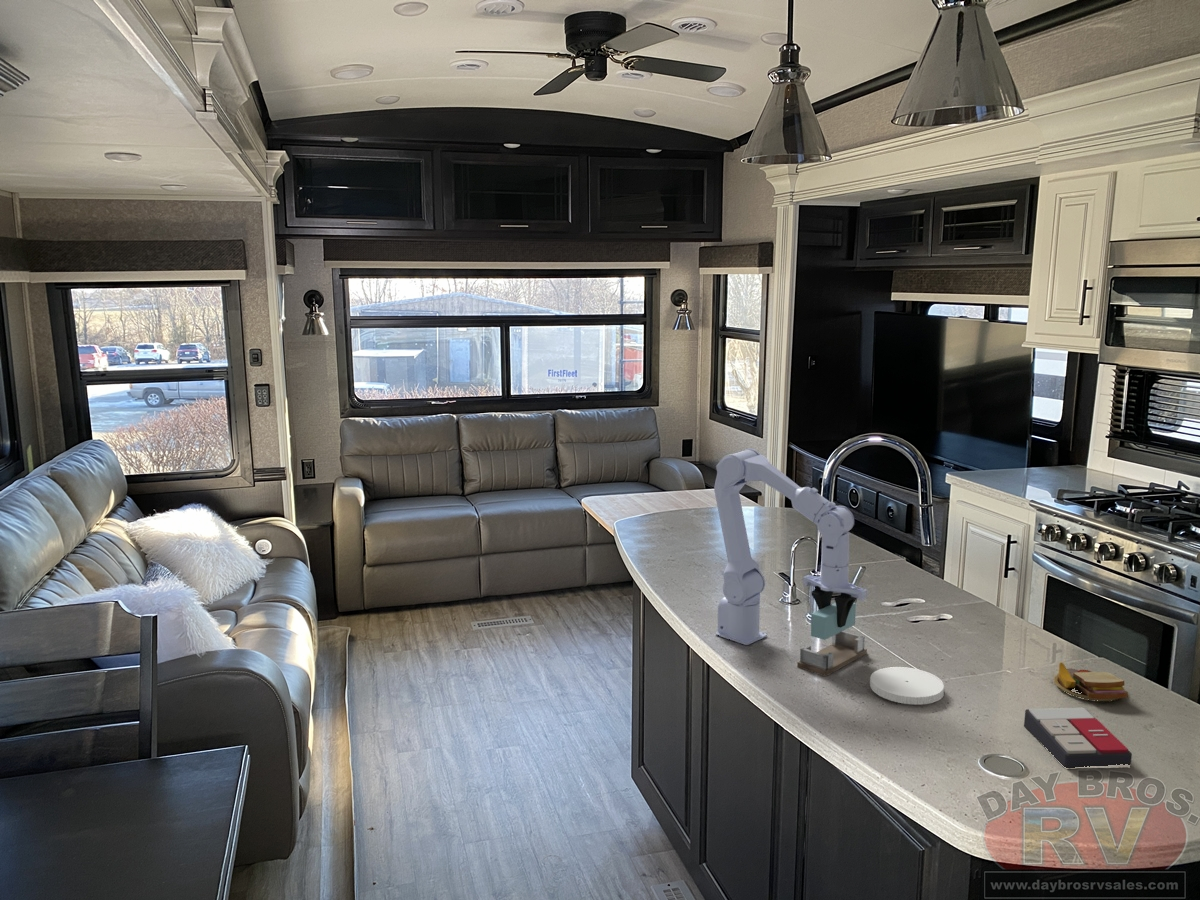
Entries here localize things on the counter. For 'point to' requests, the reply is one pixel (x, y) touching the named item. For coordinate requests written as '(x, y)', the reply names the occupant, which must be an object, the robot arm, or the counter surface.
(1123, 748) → the calculator
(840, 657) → the end cap board
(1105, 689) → the toy sandwich meal
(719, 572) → the counter surface
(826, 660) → the end caps
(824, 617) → the teal rectangular block
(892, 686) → the plastic lid
